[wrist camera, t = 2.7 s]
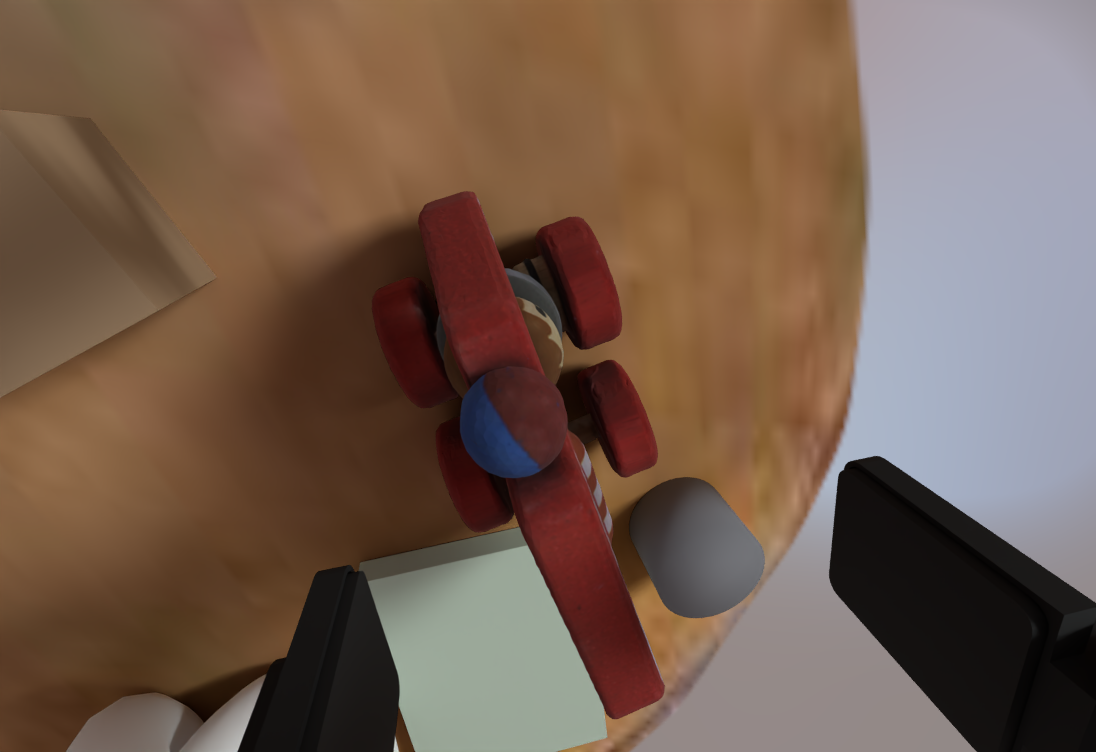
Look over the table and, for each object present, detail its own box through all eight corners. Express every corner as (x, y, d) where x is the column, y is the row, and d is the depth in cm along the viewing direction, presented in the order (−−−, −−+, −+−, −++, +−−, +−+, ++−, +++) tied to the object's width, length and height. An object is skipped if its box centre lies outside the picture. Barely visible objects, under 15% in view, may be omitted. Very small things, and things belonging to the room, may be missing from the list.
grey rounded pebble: (626, 488, 23) (656, 543, 20) (722, 468, 23) (767, 517, 20) (631, 567, 25) (659, 628, 21) (720, 546, 25) (761, 603, 22)
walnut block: (-62, 205, 15) (-223, 222, 11) (93, 118, 15) (-20, 108, 11) (82, 352, 17) (-15, 405, 13) (219, 276, 17) (159, 310, 13)
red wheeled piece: (553, 152, 17) (689, 150, 8) (640, 458, 22) (787, 680, 13) (347, 224, 17) (230, 314, 8) (484, 517, 22) (517, 789, 13)
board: (360, 562, 22) (355, 584, 21) (575, 514, 23) (582, 532, 22) (428, 761, 27) (427, 786, 26) (600, 714, 28) (607, 737, 27)
